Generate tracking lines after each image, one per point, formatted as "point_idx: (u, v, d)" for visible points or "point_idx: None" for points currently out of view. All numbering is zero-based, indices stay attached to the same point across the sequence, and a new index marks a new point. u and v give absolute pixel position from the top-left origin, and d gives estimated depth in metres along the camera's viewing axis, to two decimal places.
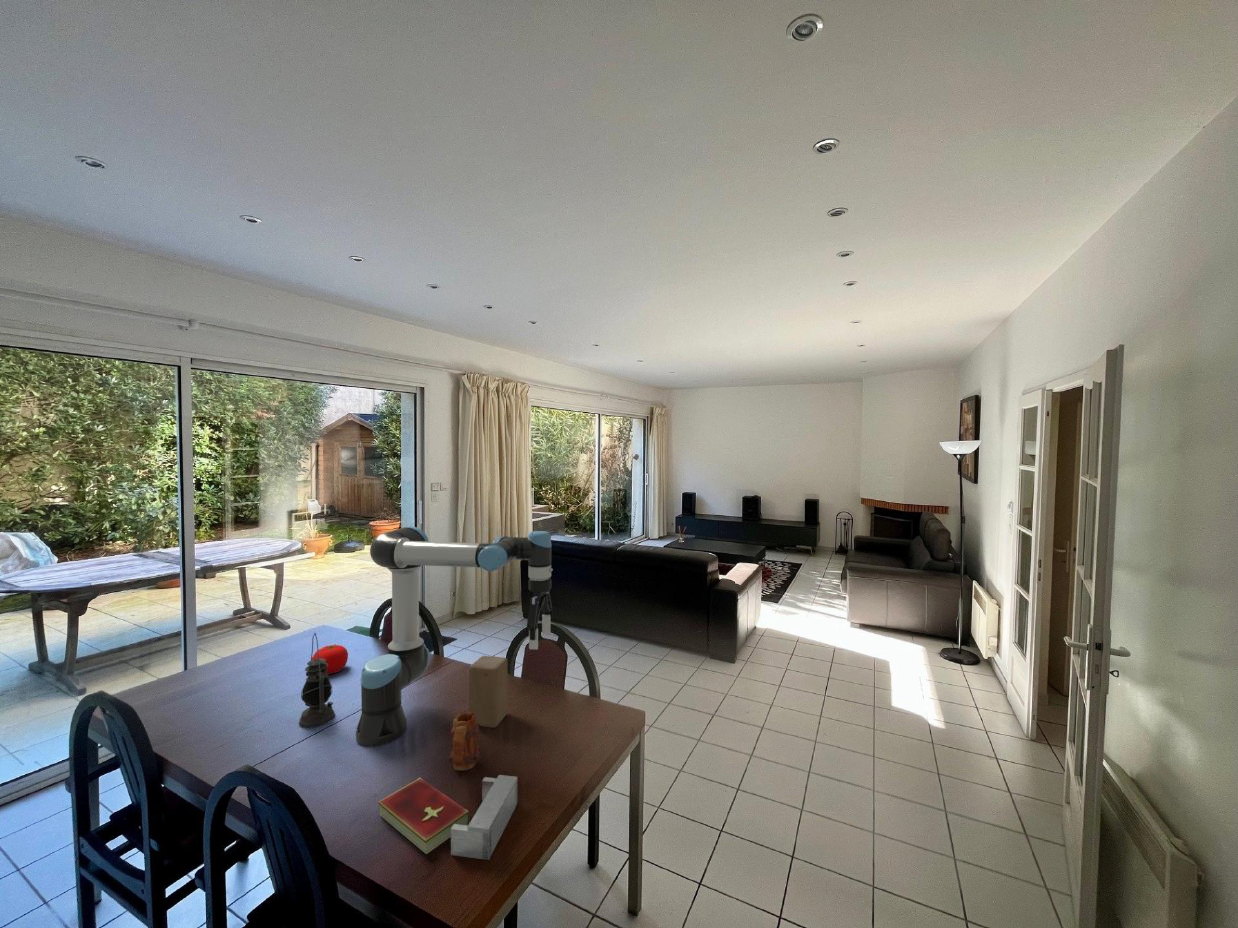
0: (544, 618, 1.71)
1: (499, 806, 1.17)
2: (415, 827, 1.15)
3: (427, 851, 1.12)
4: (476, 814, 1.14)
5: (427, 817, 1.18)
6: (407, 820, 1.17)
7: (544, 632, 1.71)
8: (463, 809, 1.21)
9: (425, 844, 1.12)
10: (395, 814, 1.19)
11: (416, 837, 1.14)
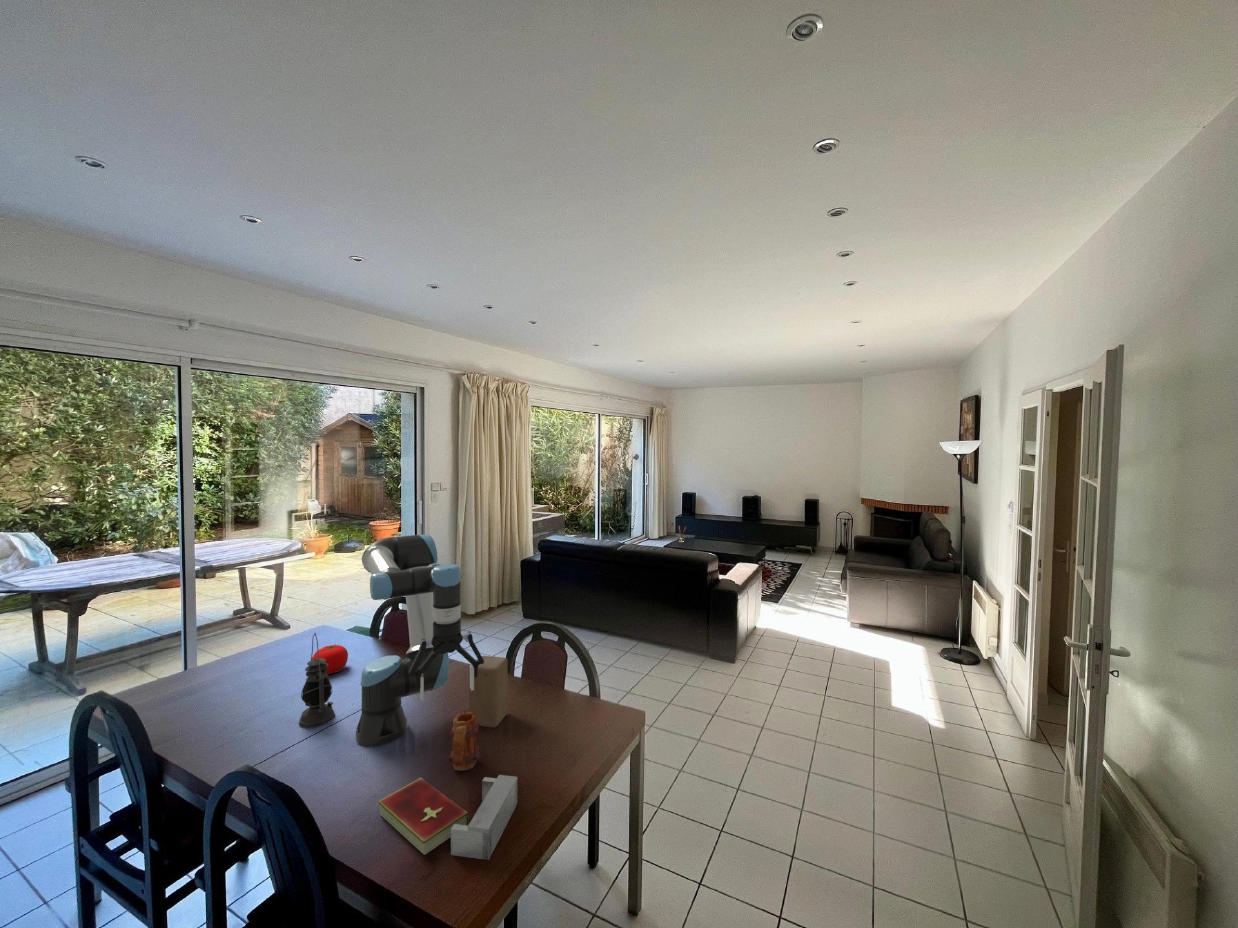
0: (470, 669, 1.44)
1: (499, 806, 1.17)
2: (414, 828, 1.15)
3: (425, 852, 1.12)
4: (476, 814, 1.14)
5: (426, 817, 1.18)
6: (406, 821, 1.17)
7: (470, 686, 1.44)
8: (462, 810, 1.21)
9: (423, 845, 1.12)
10: (394, 814, 1.19)
11: (415, 837, 1.14)
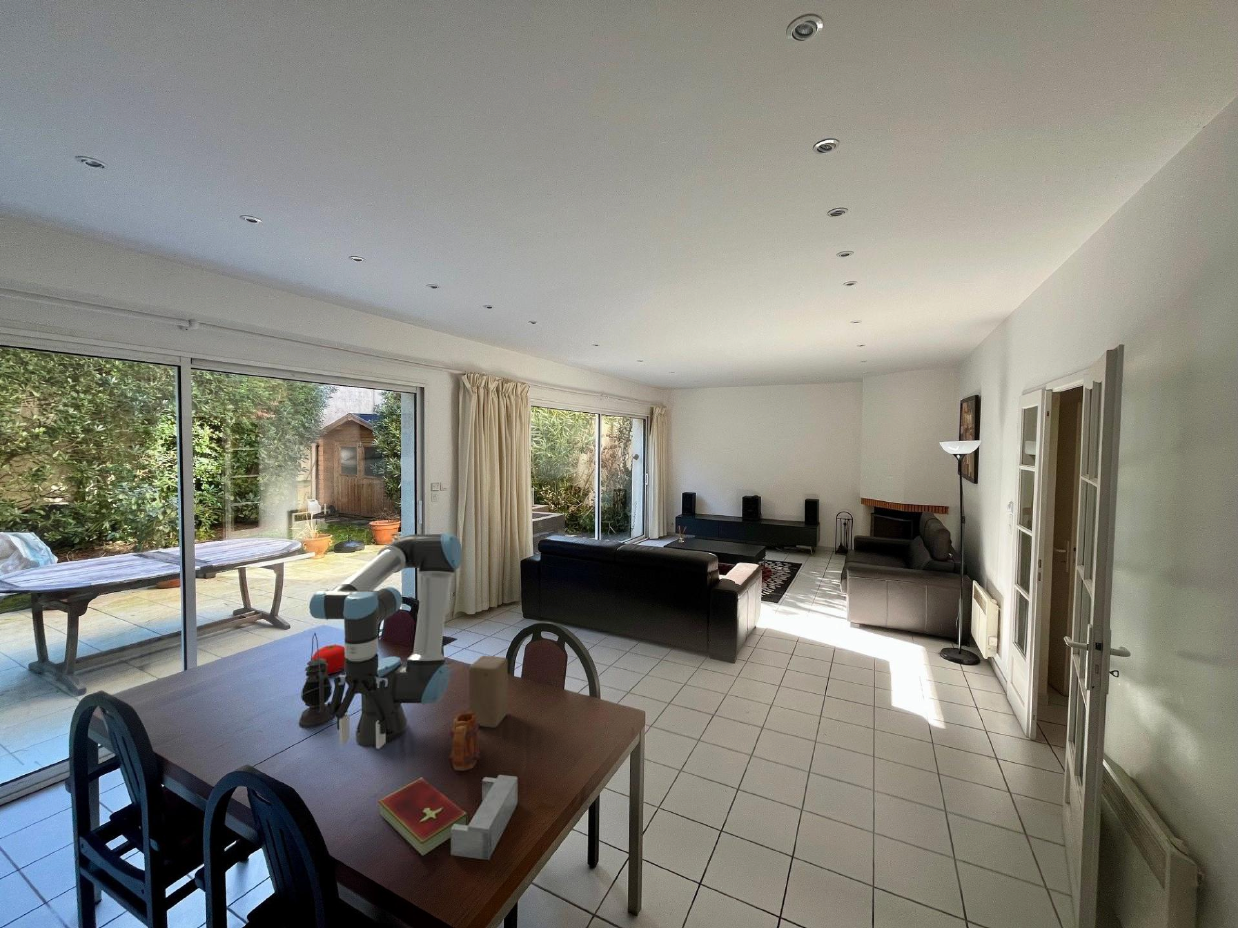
0: None
1: (499, 806, 1.17)
2: (413, 828, 1.15)
3: (423, 852, 1.11)
4: (476, 814, 1.14)
5: (425, 818, 1.18)
6: (406, 821, 1.17)
7: None
8: (461, 811, 1.20)
9: (421, 845, 1.11)
10: (394, 814, 1.19)
11: (413, 838, 1.14)
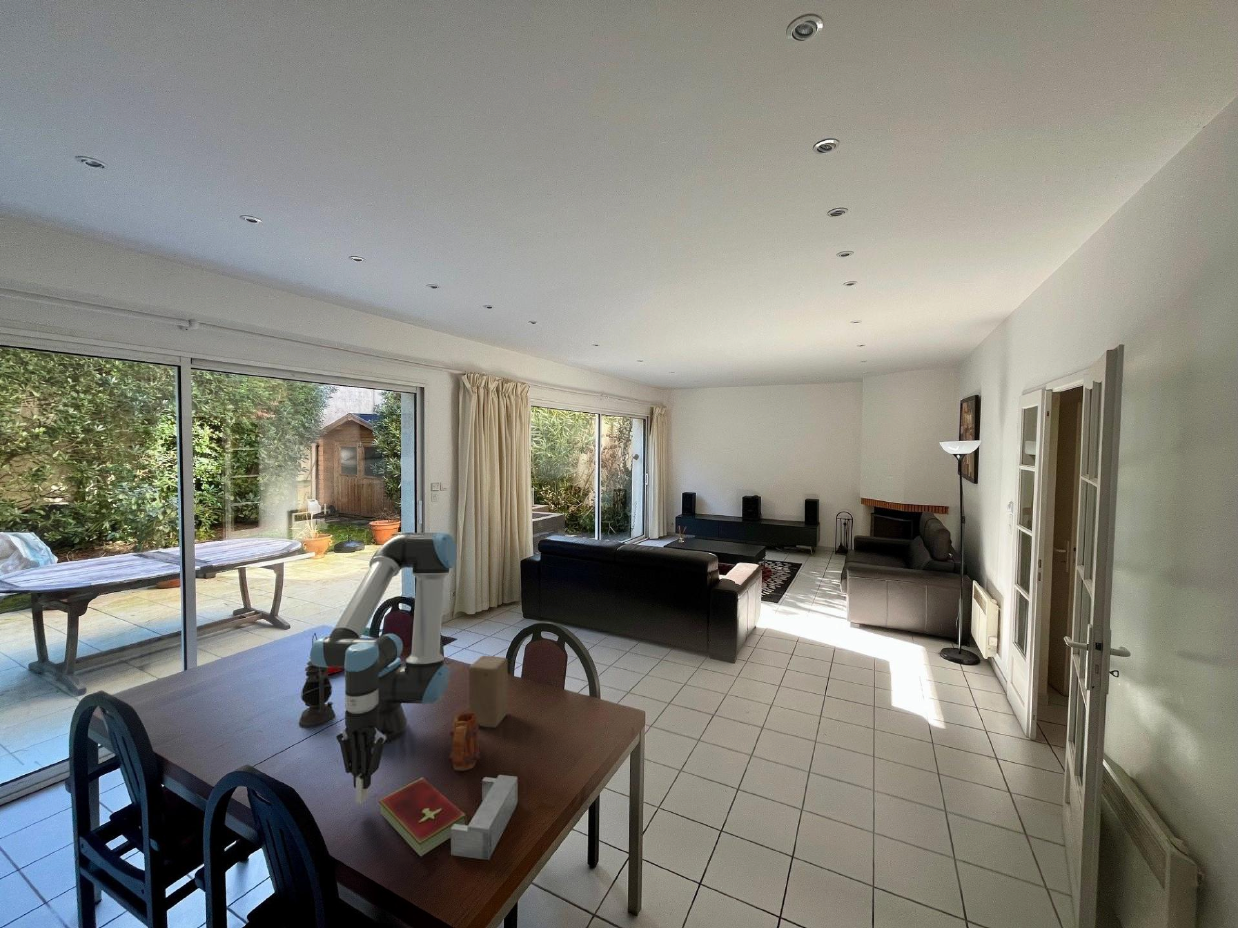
0: None
1: (499, 806, 1.17)
2: (411, 828, 1.15)
3: (421, 853, 1.11)
4: (476, 814, 1.14)
5: (424, 818, 1.17)
6: (405, 821, 1.17)
7: None
8: (460, 812, 1.20)
9: (419, 846, 1.11)
10: (394, 814, 1.19)
11: (412, 838, 1.14)
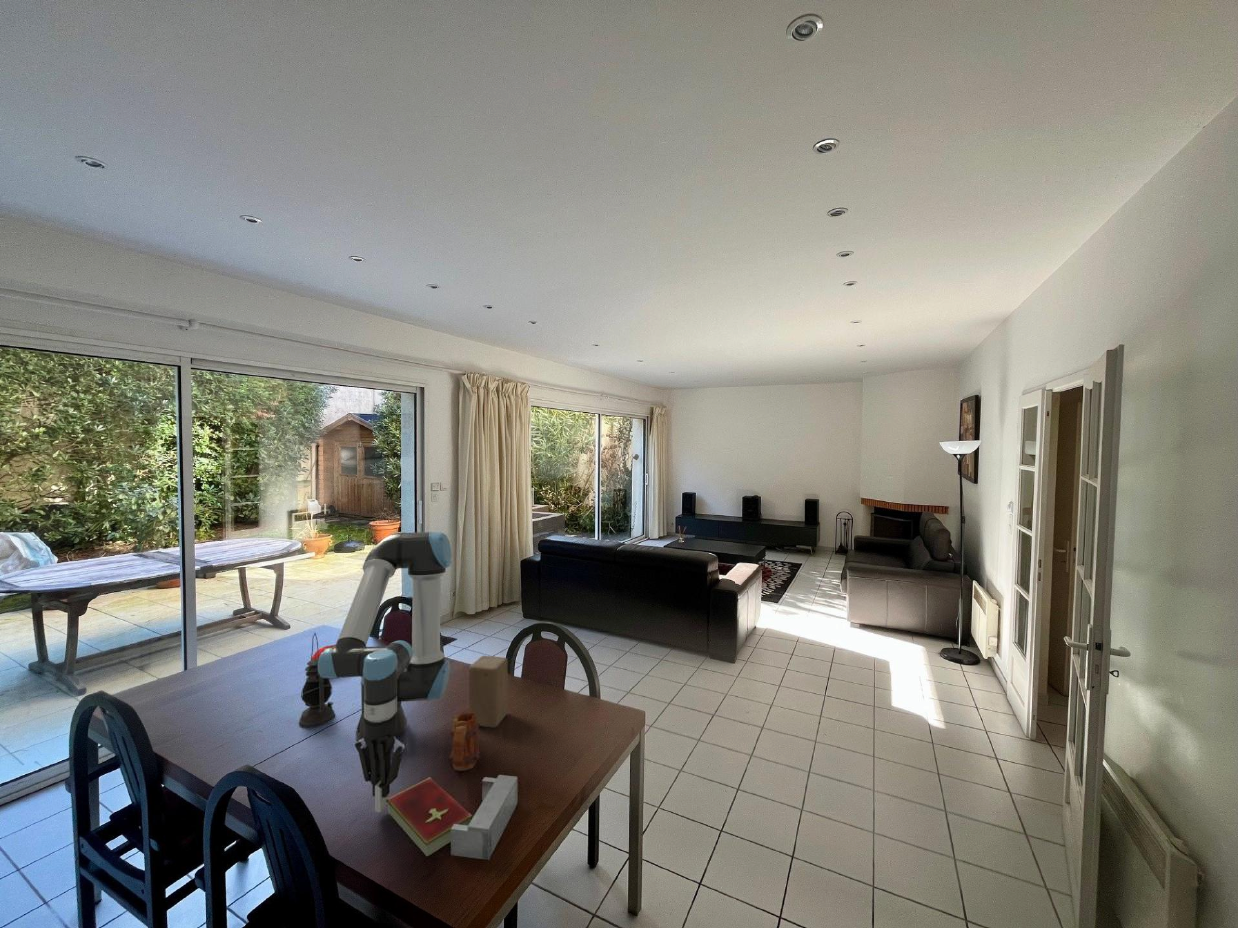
0: None
1: (499, 806, 1.17)
2: (418, 829, 1.15)
3: (428, 854, 1.11)
4: (476, 814, 1.14)
5: (431, 819, 1.17)
6: (412, 821, 1.17)
7: None
8: (467, 813, 1.20)
9: (426, 846, 1.11)
10: (401, 813, 1.20)
11: (418, 838, 1.14)
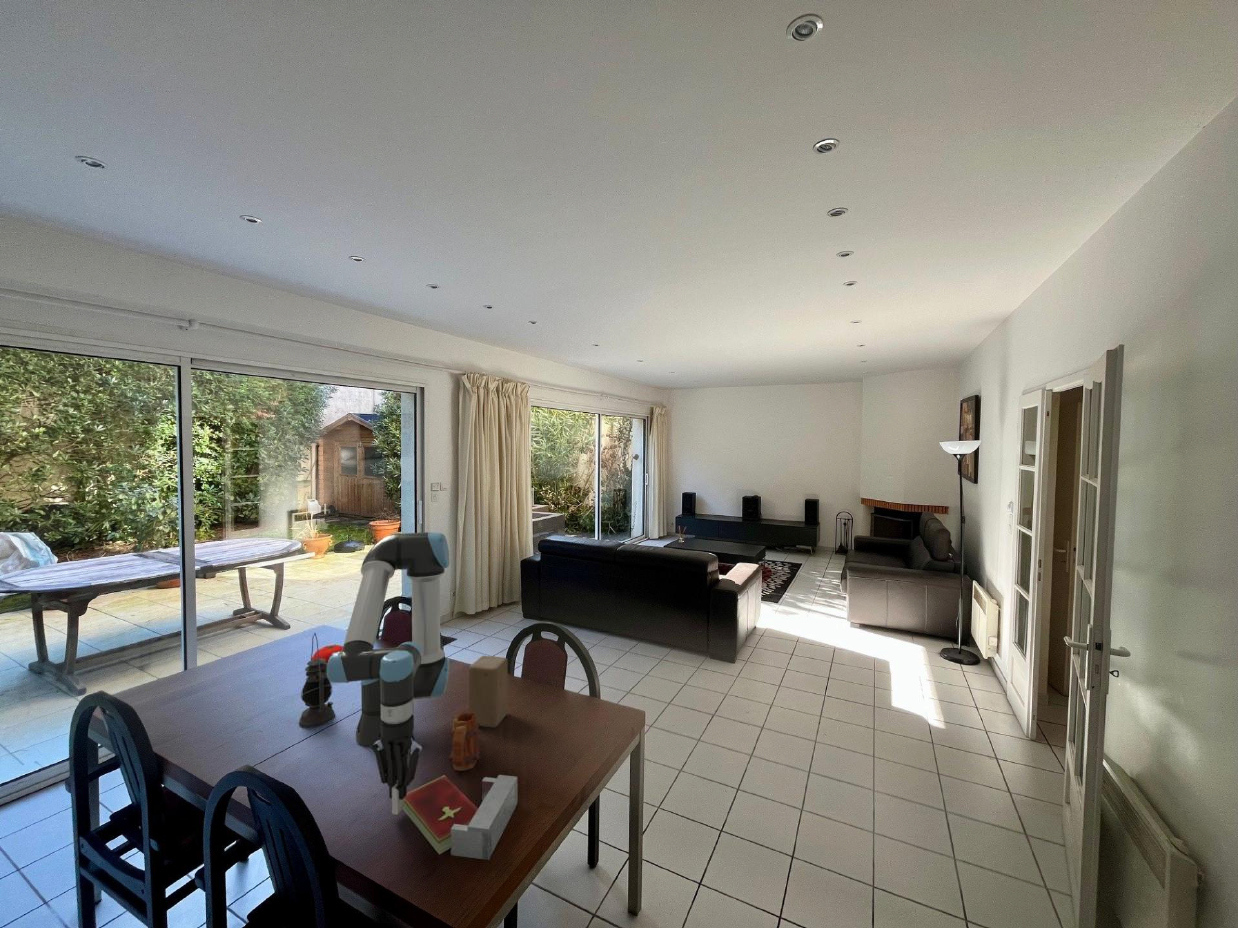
0: None
1: (499, 806, 1.17)
2: (431, 826, 1.15)
3: (440, 852, 1.12)
4: (476, 814, 1.14)
5: (444, 817, 1.18)
6: (425, 818, 1.18)
7: None
8: None
9: (438, 844, 1.12)
10: (415, 810, 1.21)
11: (431, 836, 1.14)
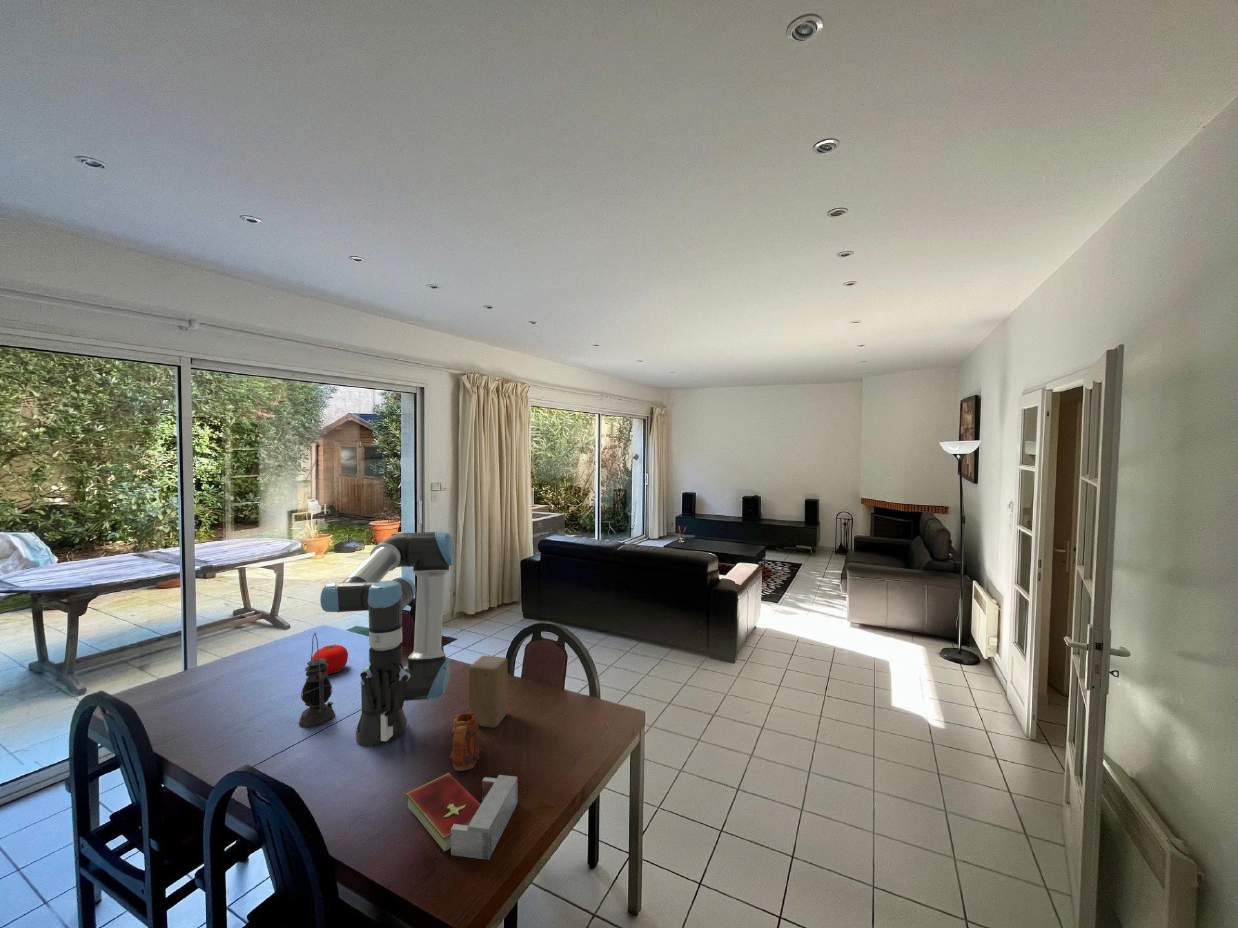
0: None
1: (499, 806, 1.17)
2: (436, 823, 1.16)
3: (445, 848, 1.13)
4: (476, 814, 1.14)
5: (449, 814, 1.19)
6: (430, 815, 1.19)
7: None
8: None
9: (443, 841, 1.13)
10: (420, 807, 1.21)
11: (436, 833, 1.15)
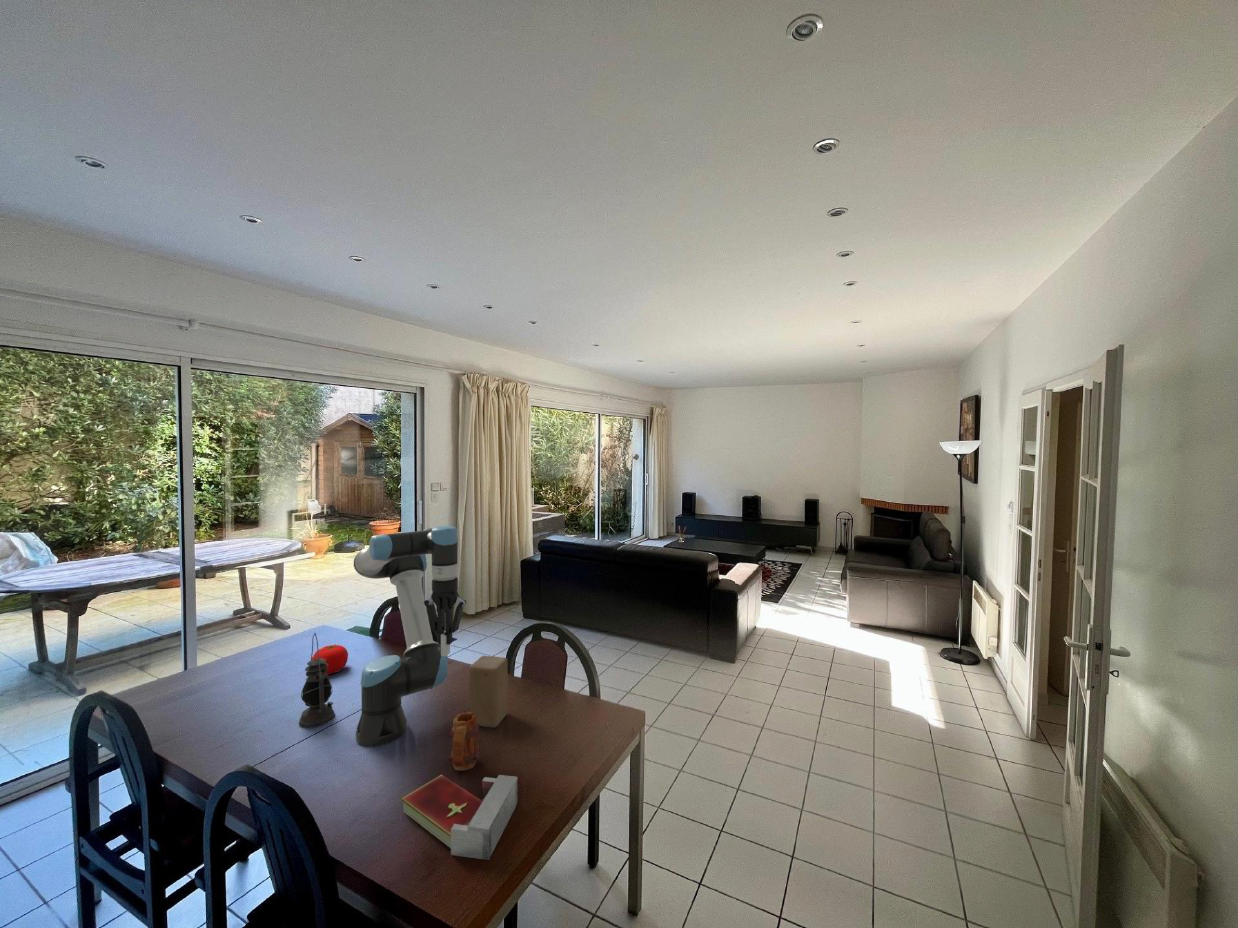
0: None
1: (499, 806, 1.17)
2: (441, 823, 1.16)
3: None
4: (476, 814, 1.14)
5: (451, 813, 1.19)
6: (432, 816, 1.18)
7: None
8: None
9: None
10: (419, 810, 1.20)
11: (441, 833, 1.15)
